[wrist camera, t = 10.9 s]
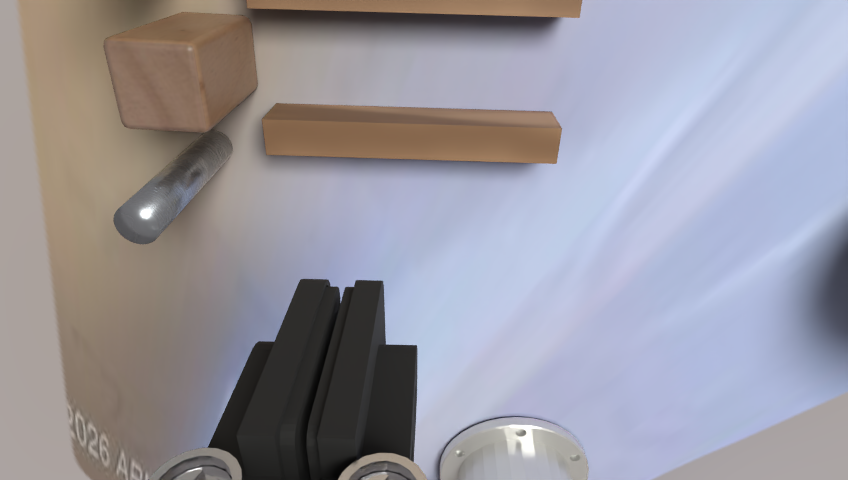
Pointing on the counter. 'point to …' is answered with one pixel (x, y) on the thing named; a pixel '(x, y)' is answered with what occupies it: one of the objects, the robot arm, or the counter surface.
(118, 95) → the wooden block
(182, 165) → the pair of steel cylinders
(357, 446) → the robot arm
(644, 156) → the counter surface
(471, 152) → the pair of wooden bars
